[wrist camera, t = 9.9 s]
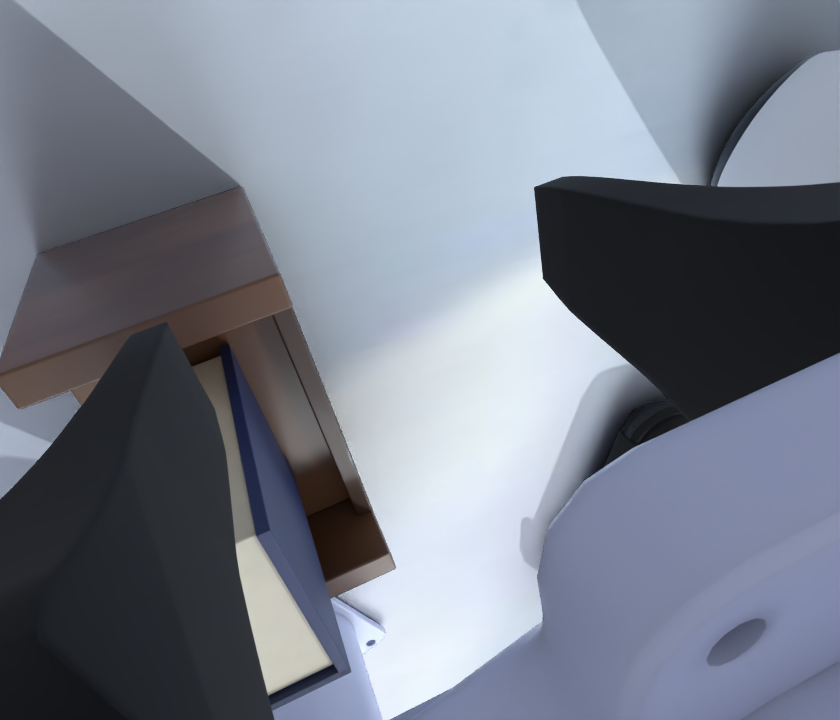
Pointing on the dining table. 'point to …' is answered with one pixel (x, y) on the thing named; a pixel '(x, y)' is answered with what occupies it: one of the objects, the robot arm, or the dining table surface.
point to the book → (273, 545)
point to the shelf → (199, 348)
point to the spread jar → (788, 131)
